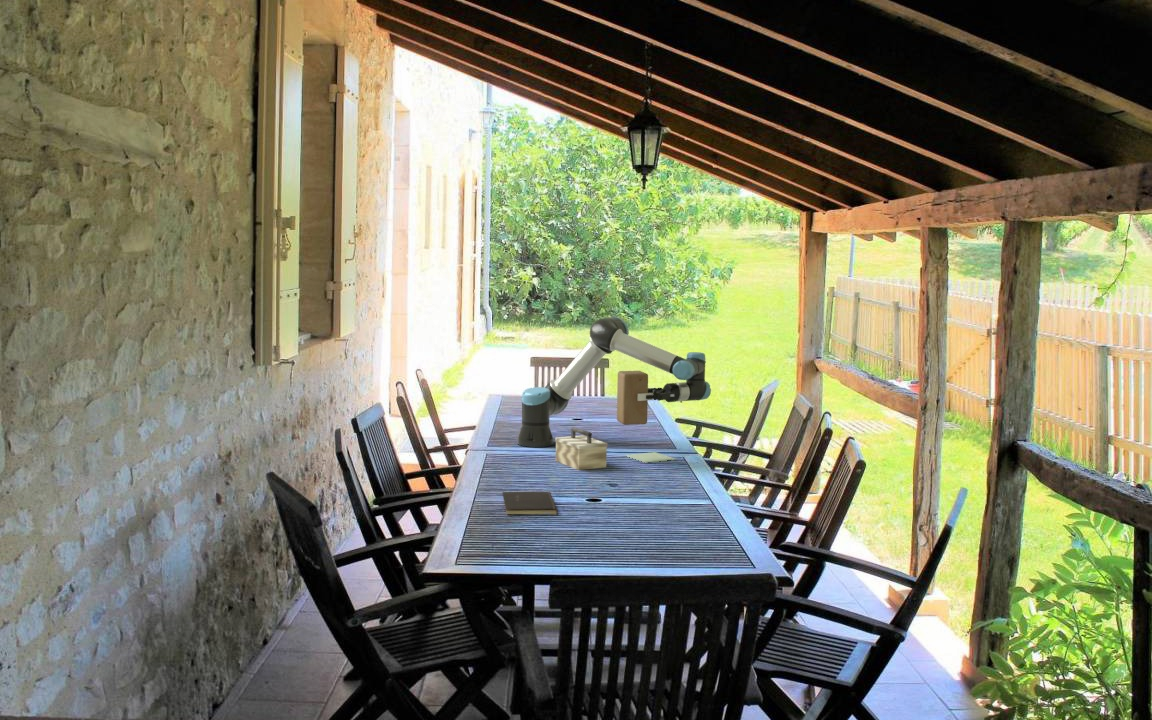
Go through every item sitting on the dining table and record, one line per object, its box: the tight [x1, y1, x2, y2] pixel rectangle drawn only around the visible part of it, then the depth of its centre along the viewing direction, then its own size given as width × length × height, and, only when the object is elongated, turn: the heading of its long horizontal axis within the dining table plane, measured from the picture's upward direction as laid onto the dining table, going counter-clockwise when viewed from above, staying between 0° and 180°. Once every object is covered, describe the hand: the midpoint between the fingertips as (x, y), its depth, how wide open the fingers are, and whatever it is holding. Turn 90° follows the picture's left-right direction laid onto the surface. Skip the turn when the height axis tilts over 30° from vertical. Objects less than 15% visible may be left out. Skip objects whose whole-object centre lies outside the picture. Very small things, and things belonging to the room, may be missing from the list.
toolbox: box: [554, 426, 608, 471], centre depth 386 cm, size 18×13×13 cm
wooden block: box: [616, 370, 649, 426], centre depth 393 cm, size 10×10×20 cm
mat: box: [625, 451, 676, 464], centre depth 400 cm, size 14×14×1 cm
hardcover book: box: [502, 491, 558, 515], centre depth 322 cm, size 16×23×2 cm
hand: (629, 395), depth 392 cm, fingers closed on wooden block, 12 cm apart
